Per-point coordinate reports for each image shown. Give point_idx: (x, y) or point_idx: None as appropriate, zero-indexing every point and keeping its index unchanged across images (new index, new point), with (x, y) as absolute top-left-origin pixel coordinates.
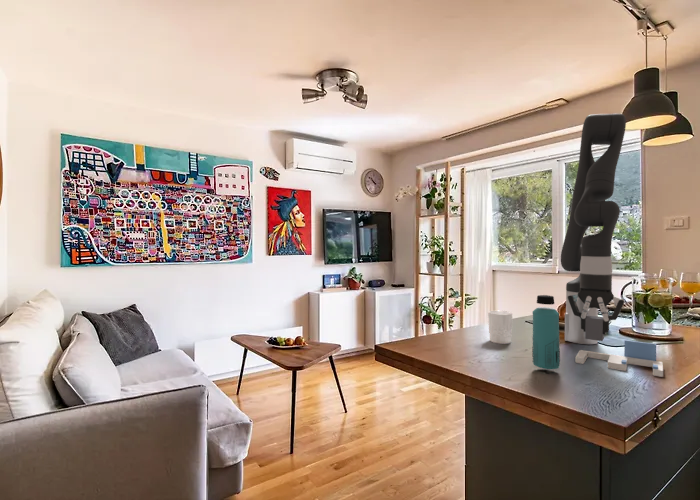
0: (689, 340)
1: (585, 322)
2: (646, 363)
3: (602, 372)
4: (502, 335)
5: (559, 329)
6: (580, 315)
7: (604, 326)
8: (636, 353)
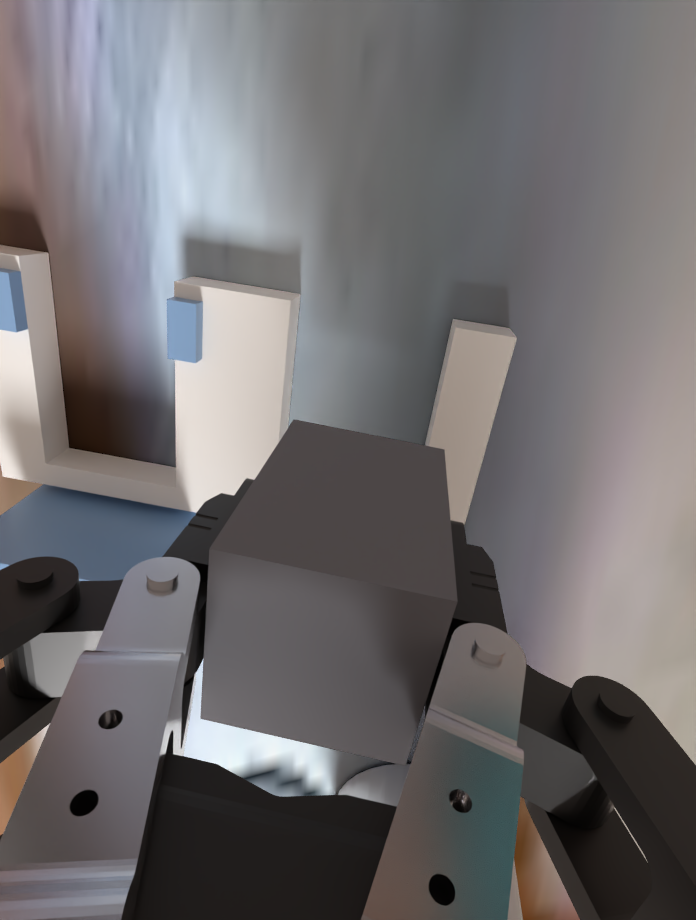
0: None
1: None
2: (88, 461)
3: (338, 134)
4: None
5: None
6: (526, 691)
7: (225, 522)
8: (115, 526)
